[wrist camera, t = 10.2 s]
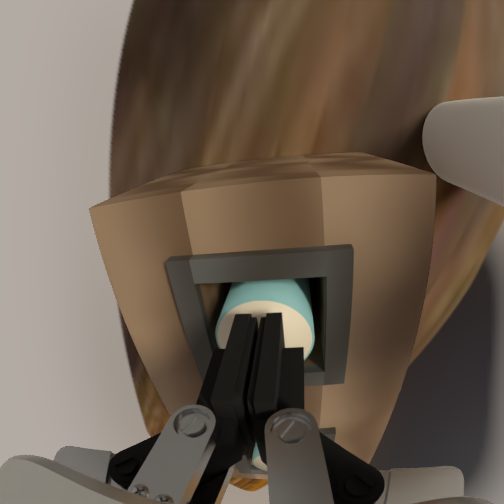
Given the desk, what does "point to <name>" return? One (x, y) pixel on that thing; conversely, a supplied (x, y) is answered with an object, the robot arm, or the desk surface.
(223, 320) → the peg
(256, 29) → the desk surface
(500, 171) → the cylindrical container
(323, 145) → the desk surface
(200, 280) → the walnut block
